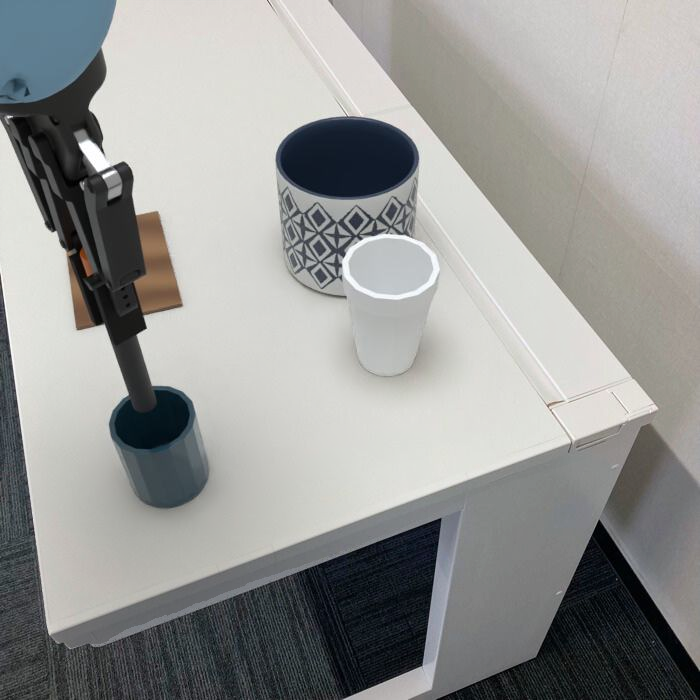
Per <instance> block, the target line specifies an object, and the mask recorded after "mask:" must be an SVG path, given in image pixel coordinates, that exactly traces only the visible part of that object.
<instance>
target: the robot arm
mask: <svg viewBox="0 0 700 700" xmlns="http://www.w3.org/2000/svg"><path fill="white" fill-rule="evenodd" d="M117 1H118V0H0V122H1V124H2V126H3V128H4V130H5V132H6V134H7V136H8V139H9V141H10V143H11V147H12V148H13V151H14V153H15V155H16V158H17V160H18V163H19V165H20V168H21V170H22V172H23V174H24V177H25V179H26V180H27V184H28V186H29V188H30V191H31V193H32V196H33V198H34V200H35V203H36V205H37V207H38V210H39V213H40V214H41V217H42V220H43V222H44V223H43V224H44V226H45V228H46V229H47V230H48V231H49V232H51V233H52V234H53V233H55V232H56V234H57V238H58V241H59V245H60V247H61V248H62V249H64V251H65V252H66V251H67V252H69V251H71V254H72V255H70V256H68V257H69V260H70V263H71V265H72V268H73V271H74V274H75V276H76V279H77V282H78V285H79V287H80V290H81V293H82V296H83V299H84V301H85V304H86V307H87V310H88V312H89V315H90V318H91V321H92V322H93V323H94V324H95V325H96V326H95V327H99V326H101V325H103V324H102V323H105V324H104V325H105V326H106V327H105V330H106V329H107V330H106V332H107V335H108V338H109V341H110V343H111V342H112V343H113V344H114V345H115V346H118V345H119V344H121V343H123V342H125V341H126V340H128V339H130V338H132V337H133V336H135V335H137V336H138V335H139V334H141V333H142V332H144V331H146V330H147V329H148V326H147V322H146V319H145V315H143V312H142V309H141V305H140V302H139V298H138V295H137V291H136V288H135V284H134V281H136V280H138V279H139V278H141V277H143V276H145V275H146V267H145V262H144V257H143V251H142V246H141V240H140V235H139V229H138V224H137V219H136V215H137V213H136V208H135V203H134V198H133V189H134V183H135V178H134V174H133V173H134V172H133V169H132V168H131V167H130V166H129V164H128V163H127V162H126V161H120V162H118V163H116V164H113V165H112V164H111V163H110V161H109V159H108V158H107V156H106V152H105V151H104V148H103V141H104V134H103V131H102V128H101V124H100V122H99V119H98V118H97V116H96V115H95V114H94V113H93V111H91V110H90V105H91V102H92V100H93V98H94V96H95V95H96V94H97V92H98V91H99V90H100V89H101V88H102V86H103V85H104V83H105V80H106V78H107V72H108V71H107V69H108V67H107V63H106V60H105V59H106V58H105V56H104V51H103V44H104V42H105V40H106V38H107V36H108V34H109V31H110V27H111V25H112V22H113V19H114V16H115V10H116V7H117ZM82 248H84V251H85V253H86V256H87V258H88V261H89V264H90V266H91V269H92V272H93V274H92V275H90V276H88V277H87V274H86V271H85V268H84V265H83V262H82V259H81V256H80V251H81V249H82ZM94 294H95V295H94ZM95 297H96V298H95ZM96 300H97V301H96ZM100 324H101V325H100Z"/></svg>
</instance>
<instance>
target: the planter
mask: <svg viewBox="0 0 700 700" xmlns="http://www.w3.org/2000/svg"><path fill="white" fill-rule="evenodd" d="M274 159H275V160H274V162H275V163H274V164H275V176H276V187H277V188H276V189H277V199H278V209H279V221H280V230H281V231H280V232H281V241H282V251H283V258H284V262H285V265H286V267H287V269H288V270H289V272H290V273H291V275H292V276H293V277H294V278H296V280H297V281H299V282H300V283H302V285H304V286H306V287H308V288H310V289H311V290H314V291H316V292H317V291H318V292H320V293H322V294H328V295H333V296H341V297H342V296H343V297H347V296H346V295H345V294H344V288H343V281H342V261H343V259H344V257H345V255H346V253H347V252H348V250H349V248H350V247H352V246H353V245H355V244H356V243H358V242H360V241H361V240H363V239H364V238H368V237H373V236H377V235H382V234H392V235H405V236H408V237H410V238H413V239H415V231H416V219H417V218H416V216H417V204H418V189H419V177H420V176H419V175H420V153H419V149H418V147H417V144H416V143H415V142H414V140H413V139H412V138H411V136H409V135H408V134H407V133H406V132H404V131H403V130H402V129H400V128H398V127H396V126H395V125H393V124H391V123H388V122H385V121H383V120H379V119H376V118H370V117H364V116H353V115H347V116H345V115H343V116H341V115H340V116H333V117H326V118H321V119H317V120H314V121H310V122H308V123H305V124H303V125H301V126H300V127H297V128H296V129H294V130H293V131H291V132H290V133H289V134H288V135H286V137H284V138H283V139H282V140H281V143H280V144H279V145H278V147H277V150H276V152H275V158H274Z"/></svg>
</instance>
